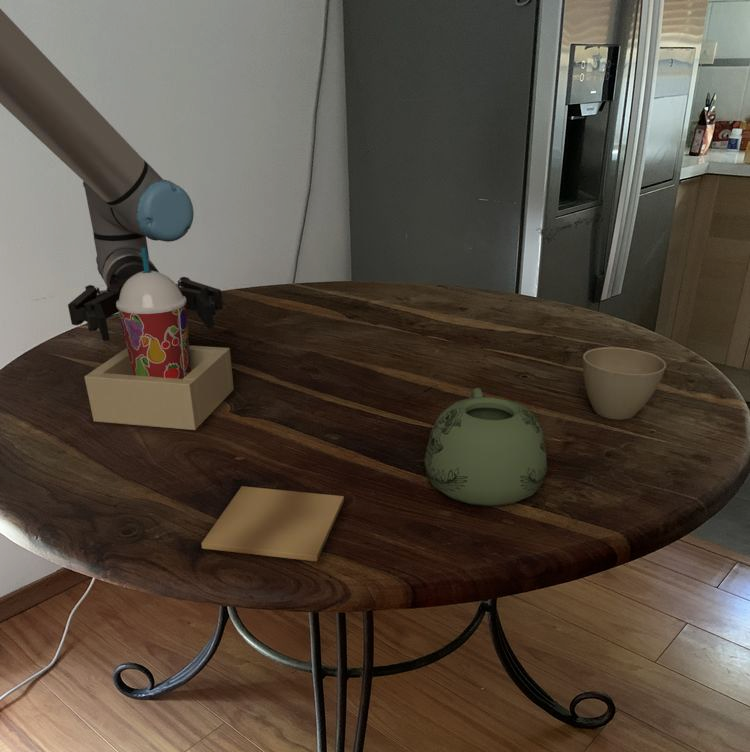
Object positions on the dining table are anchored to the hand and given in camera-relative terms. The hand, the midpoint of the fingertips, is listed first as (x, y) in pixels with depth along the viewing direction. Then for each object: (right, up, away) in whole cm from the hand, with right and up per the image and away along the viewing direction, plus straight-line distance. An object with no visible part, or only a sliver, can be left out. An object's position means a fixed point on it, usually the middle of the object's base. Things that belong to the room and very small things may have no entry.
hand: (158, 323), depth 88 cm
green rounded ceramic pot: (+38, -19, -8) cm, 43 cm away
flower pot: (+57, -10, +8) cm, 59 cm away
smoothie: (-1, -9, +9) cm, 13 cm away
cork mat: (+16, -23, -16) cm, 33 cm away
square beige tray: (-1, -9, +9) cm, 13 cm away
